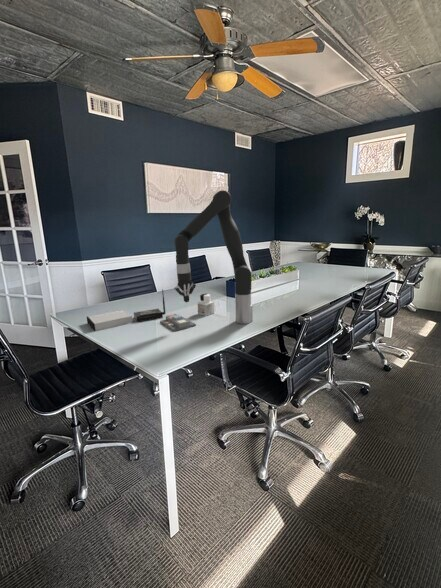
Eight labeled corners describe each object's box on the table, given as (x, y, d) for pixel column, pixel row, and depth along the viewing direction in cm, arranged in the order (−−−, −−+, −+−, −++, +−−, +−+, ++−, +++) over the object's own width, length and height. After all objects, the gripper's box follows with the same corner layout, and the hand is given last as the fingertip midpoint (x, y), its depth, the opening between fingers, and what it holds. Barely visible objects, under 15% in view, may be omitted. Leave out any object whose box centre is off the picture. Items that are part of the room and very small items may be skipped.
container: (197, 313, 193) (196, 294, 190) (206, 311, 198) (205, 292, 195) (206, 316, 188) (205, 296, 185) (214, 313, 193) (213, 293, 190)
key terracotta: (174, 317, 182) (174, 314, 182) (178, 319, 179) (177, 316, 178) (168, 319, 180) (168, 316, 179) (171, 321, 176) (171, 317, 176)
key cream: (183, 322, 172) (183, 319, 172) (187, 324, 169) (187, 321, 168) (176, 324, 170) (176, 321, 170) (180, 326, 166) (180, 323, 166)
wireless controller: (138, 323, 179) (135, 296, 175) (133, 317, 192) (130, 291, 187) (169, 318, 188) (167, 291, 184) (163, 312, 200) (161, 287, 196)
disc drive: (87, 324, 182) (86, 316, 181) (123, 316, 195) (122, 309, 194) (94, 332, 168) (93, 323, 167) (132, 323, 181) (131, 315, 180)
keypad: (181, 317, 186) (180, 312, 185) (195, 325, 171) (195, 320, 170) (160, 322, 179) (159, 317, 178) (173, 331, 163) (173, 325, 162)
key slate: (179, 317, 177) (178, 314, 176) (182, 319, 173) (182, 316, 173) (172, 319, 175) (172, 316, 174) (175, 321, 171) (175, 317, 170)
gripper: (191, 269, 169) (193, 298, 173) (169, 272, 162) (173, 303, 166) (197, 270, 163) (200, 300, 167) (175, 274, 156) (179, 305, 160)
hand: (186, 301), depth 166 cm, fingers closed
